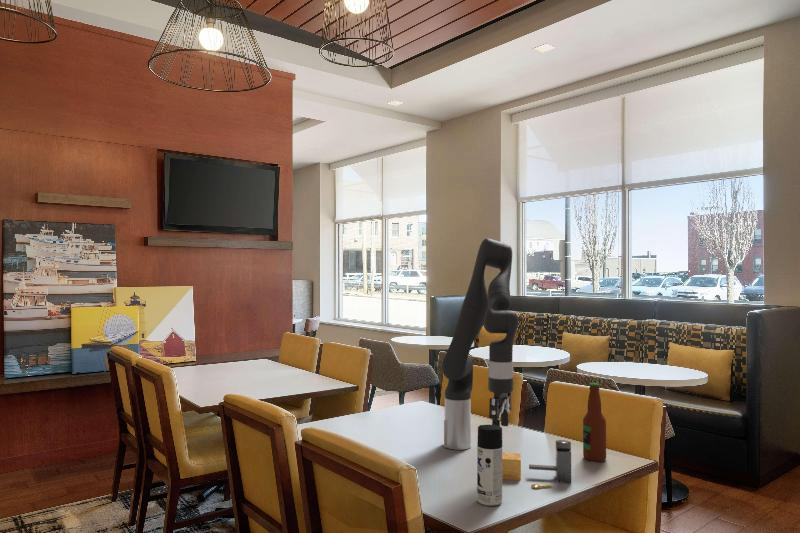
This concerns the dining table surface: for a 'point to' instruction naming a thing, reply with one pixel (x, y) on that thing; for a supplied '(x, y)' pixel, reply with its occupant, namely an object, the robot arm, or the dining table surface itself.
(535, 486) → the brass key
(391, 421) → the dining table surface
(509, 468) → the wooden block
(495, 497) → the spray can
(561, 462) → the grey mallet
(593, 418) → the bottle
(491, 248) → the robot arm
